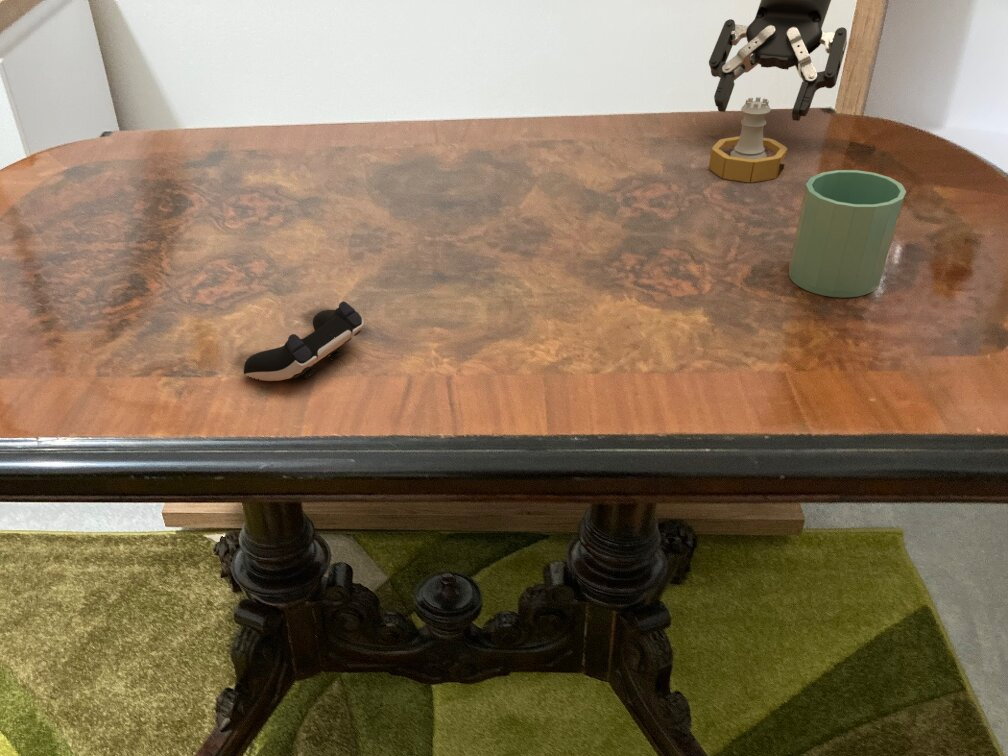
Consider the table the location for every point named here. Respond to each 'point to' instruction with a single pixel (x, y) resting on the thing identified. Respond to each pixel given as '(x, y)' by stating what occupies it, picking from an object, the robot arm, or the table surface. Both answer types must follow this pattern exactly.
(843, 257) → the green cup
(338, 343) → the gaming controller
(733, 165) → the holder ring
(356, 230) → the table surface
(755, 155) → the rook chess piece
